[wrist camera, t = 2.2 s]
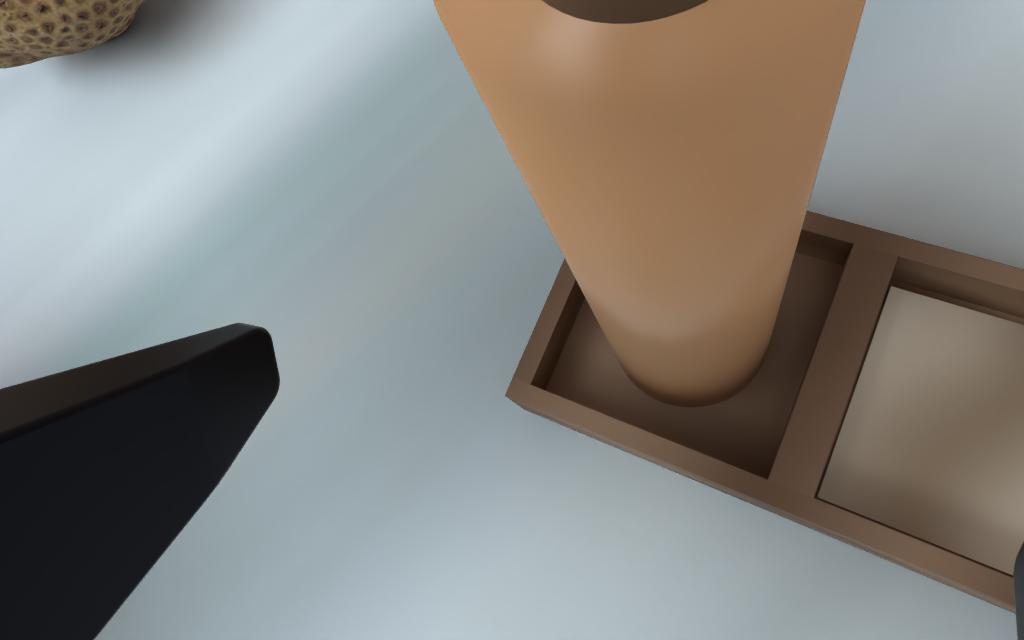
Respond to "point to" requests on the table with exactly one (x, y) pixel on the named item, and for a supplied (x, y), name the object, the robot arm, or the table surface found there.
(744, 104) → the tan rounded column
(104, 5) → the natural sponge
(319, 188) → the table surface
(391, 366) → the table surface
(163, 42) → the table surface
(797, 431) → the brown divided tray
